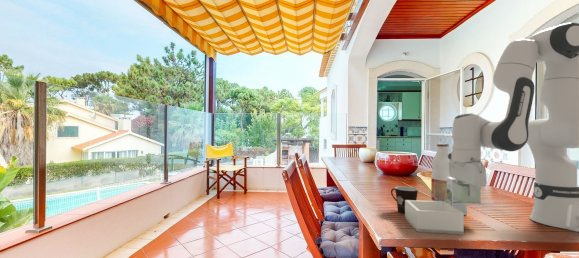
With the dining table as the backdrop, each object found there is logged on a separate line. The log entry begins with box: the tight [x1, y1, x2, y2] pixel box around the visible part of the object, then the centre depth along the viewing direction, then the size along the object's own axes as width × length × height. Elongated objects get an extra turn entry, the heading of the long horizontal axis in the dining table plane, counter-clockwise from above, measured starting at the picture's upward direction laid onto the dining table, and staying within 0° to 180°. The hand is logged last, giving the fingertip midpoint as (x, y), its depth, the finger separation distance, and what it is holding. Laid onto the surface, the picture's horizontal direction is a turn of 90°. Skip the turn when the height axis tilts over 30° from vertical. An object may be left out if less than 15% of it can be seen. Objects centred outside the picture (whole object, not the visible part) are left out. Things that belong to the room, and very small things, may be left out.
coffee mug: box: [390, 185, 419, 216], centre depth 112 cm, size 12×9×10 cm
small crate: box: [453, 183, 482, 205], centre depth 100 cm, size 6×6×6 cm
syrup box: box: [447, 177, 468, 216], centre depth 111 cm, size 6×6×14 cm
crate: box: [404, 199, 465, 235], centre depth 96 cm, size 14×14×7 cm
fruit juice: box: [430, 143, 450, 203], centre depth 122 cm, size 9×9×28 cm
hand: (466, 194), depth 100 cm, fingers closed on small crate, 6 cm apart
